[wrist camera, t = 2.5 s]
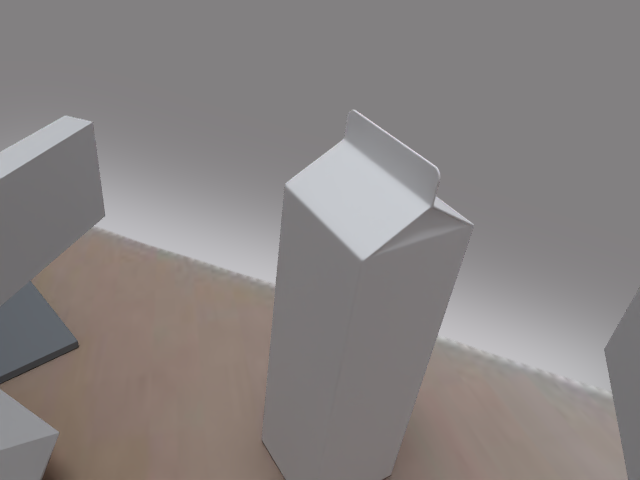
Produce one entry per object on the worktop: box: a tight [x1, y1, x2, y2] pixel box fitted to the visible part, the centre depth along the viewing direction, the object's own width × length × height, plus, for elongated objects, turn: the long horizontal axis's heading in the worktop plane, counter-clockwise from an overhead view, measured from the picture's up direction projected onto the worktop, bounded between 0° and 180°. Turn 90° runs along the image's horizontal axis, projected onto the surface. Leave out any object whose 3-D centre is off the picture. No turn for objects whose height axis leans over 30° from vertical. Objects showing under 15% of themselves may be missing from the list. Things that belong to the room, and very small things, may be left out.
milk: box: [262, 110, 474, 480], centre depth 29 cm, size 6×6×22 cm
